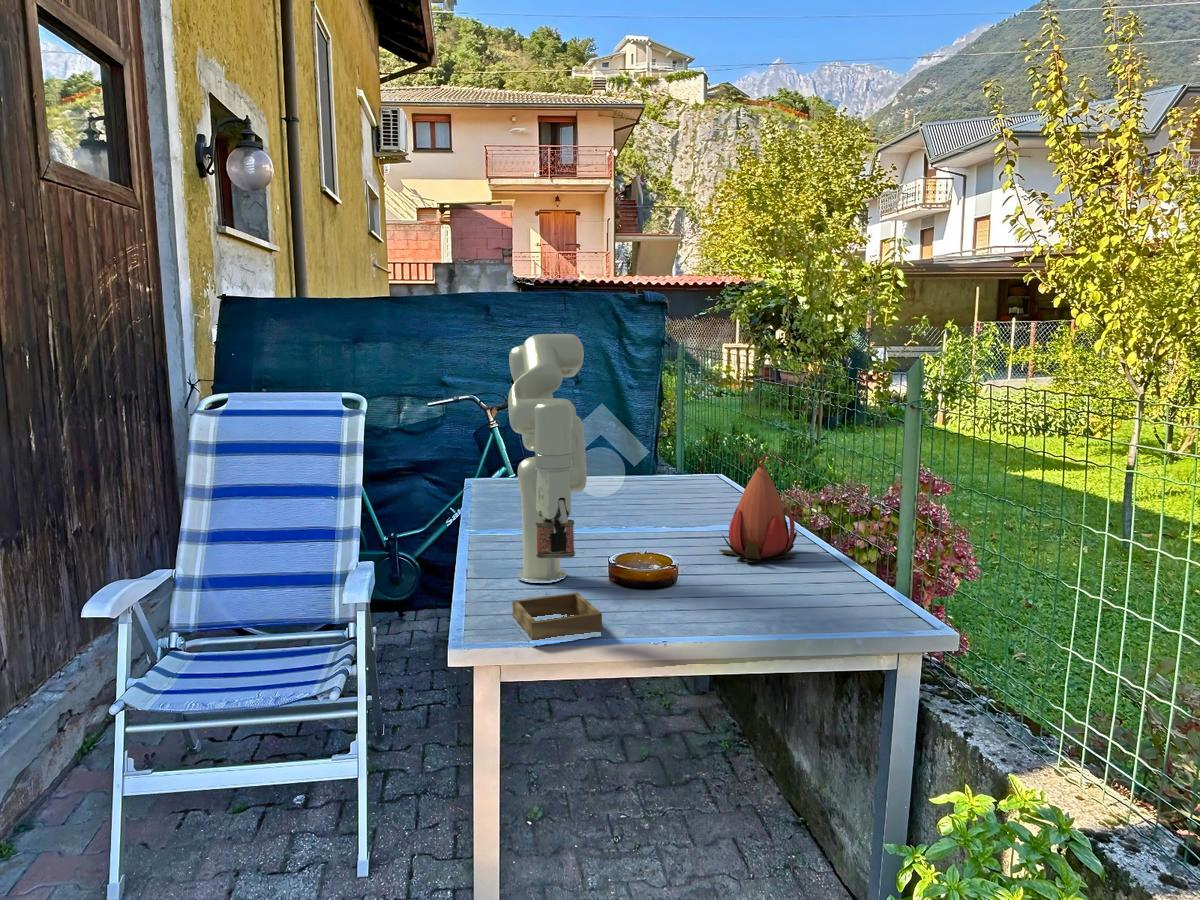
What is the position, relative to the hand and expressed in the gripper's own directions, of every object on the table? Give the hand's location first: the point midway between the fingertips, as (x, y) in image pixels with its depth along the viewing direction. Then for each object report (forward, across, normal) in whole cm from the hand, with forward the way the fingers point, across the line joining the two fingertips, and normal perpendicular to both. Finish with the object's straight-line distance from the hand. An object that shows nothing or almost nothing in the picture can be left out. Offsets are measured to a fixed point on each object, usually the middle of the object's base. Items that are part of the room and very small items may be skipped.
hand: (555, 547), depth 167 cm
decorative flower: (+18, -33, +70) cm, 79 cm away
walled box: (+18, 0, 0) cm, 18 cm away
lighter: (+2, 0, 0) cm, 2 cm away
